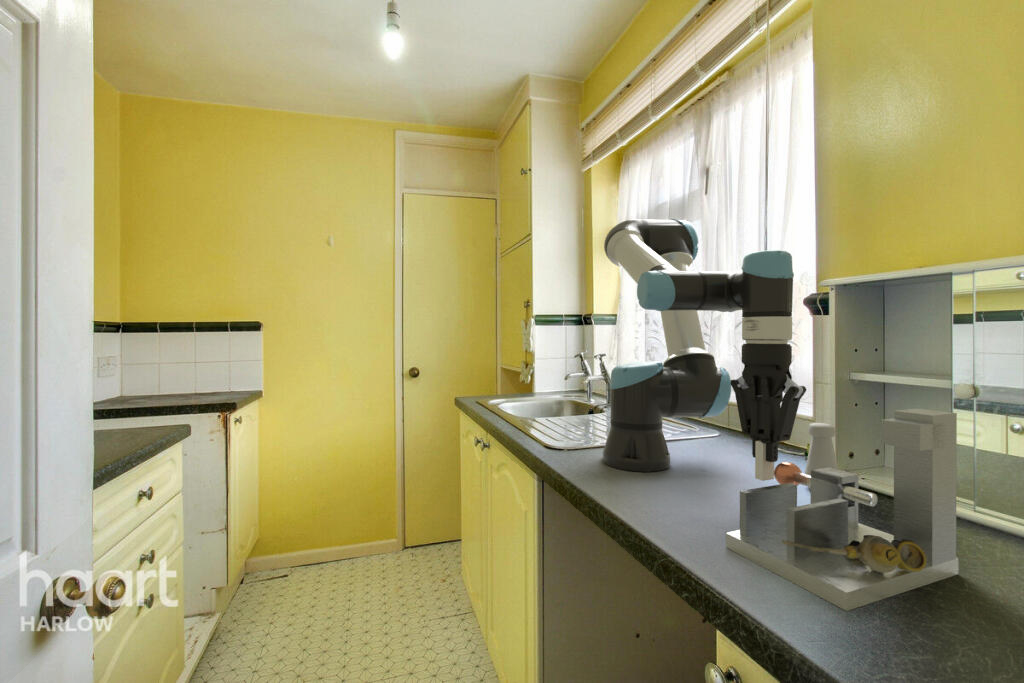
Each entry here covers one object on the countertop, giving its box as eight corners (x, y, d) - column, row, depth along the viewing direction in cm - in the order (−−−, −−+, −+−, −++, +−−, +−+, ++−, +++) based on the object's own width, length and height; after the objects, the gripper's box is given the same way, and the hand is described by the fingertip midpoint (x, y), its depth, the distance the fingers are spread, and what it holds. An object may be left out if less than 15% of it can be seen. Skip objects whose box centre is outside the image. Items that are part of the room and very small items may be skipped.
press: (725, 547, 63) (726, 404, 63) (827, 524, 71) (827, 397, 71) (846, 611, 48) (847, 424, 48) (958, 574, 56) (959, 412, 56)
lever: (768, 484, 75) (768, 460, 75) (785, 482, 76) (785, 458, 76) (863, 516, 61) (863, 487, 61) (882, 512, 63) (882, 483, 63)
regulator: (793, 562, 52) (947, 581, 49) (789, 525, 53) (939, 541, 50) (771, 557, 59) (905, 573, 55) (768, 524, 60) (899, 539, 57)
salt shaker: (846, 497, 83) (846, 427, 83) (811, 495, 84) (812, 425, 84) (830, 487, 89) (831, 421, 89) (798, 485, 90) (798, 420, 90)
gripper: (719, 341, 82) (718, 470, 82) (786, 343, 70) (784, 494, 70) (749, 341, 85) (748, 466, 85) (819, 342, 73) (816, 488, 73)
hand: (764, 478), depth 78 cm, fingers closed
